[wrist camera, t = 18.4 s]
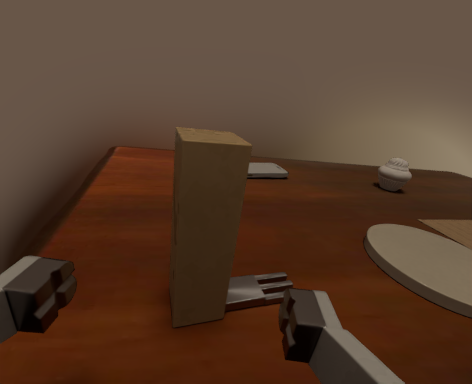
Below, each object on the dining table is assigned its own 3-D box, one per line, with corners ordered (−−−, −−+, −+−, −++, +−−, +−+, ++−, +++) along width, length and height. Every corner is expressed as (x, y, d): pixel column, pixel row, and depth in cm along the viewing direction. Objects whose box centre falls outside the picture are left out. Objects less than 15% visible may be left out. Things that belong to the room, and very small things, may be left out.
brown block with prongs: (172, 328, 15) (182, 139, 10) (168, 288, 18) (175, 126, 13) (301, 304, 18) (352, 152, 14) (280, 273, 21) (316, 140, 17)
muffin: (368, 185, 52) (379, 154, 49) (378, 181, 55) (389, 152, 53) (399, 196, 47) (414, 162, 45) (407, 191, 51) (421, 160, 49)
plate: (470, 341, 17) (479, 330, 17) (338, 234, 29) (341, 226, 29) (558, 308, 22) (567, 299, 22) (414, 228, 34) (417, 221, 34)
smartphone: (209, 161, 48) (274, 162, 53) (208, 167, 49) (273, 167, 54) (218, 173, 42) (290, 173, 47) (217, 179, 42) (289, 179, 47)
